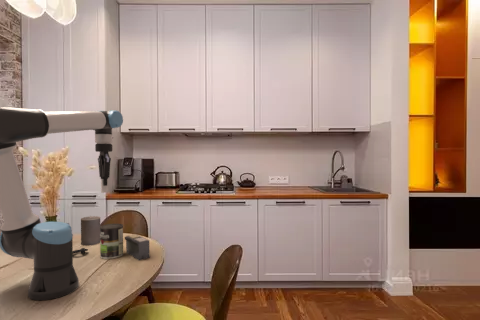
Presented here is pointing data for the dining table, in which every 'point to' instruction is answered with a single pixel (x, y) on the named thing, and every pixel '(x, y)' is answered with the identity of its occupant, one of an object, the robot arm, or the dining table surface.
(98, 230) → the pillar candle
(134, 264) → the dining table surface
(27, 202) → the robot arm
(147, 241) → the box
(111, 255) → the coffee can
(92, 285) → the dining table surface
